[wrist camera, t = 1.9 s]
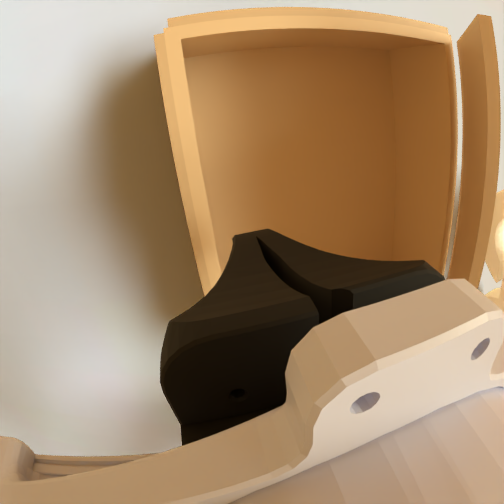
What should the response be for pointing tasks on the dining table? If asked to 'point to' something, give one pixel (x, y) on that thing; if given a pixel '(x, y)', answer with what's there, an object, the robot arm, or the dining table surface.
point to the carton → (312, 131)
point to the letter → (497, 251)
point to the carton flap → (477, 149)
